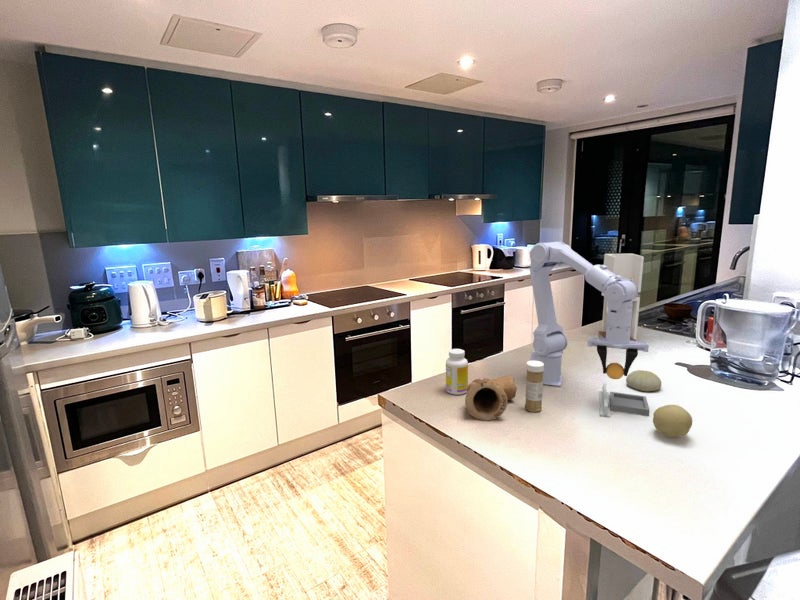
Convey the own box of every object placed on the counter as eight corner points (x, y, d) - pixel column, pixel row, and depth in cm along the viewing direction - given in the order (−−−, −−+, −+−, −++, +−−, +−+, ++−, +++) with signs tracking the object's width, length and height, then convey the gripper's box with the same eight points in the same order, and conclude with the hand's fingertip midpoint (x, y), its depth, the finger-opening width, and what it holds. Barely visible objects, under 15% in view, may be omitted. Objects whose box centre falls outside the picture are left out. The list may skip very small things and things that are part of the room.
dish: (610, 410, 115) (611, 404, 115) (609, 397, 123) (610, 391, 123) (649, 416, 112) (649, 410, 111) (645, 401, 120) (645, 396, 119)
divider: (600, 416, 112) (601, 405, 112) (599, 392, 127) (600, 382, 126) (610, 417, 111) (611, 406, 111) (608, 393, 126) (609, 384, 125)
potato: (690, 448, 97) (695, 415, 95) (650, 439, 101) (654, 408, 99) (689, 433, 103) (693, 402, 101) (652, 425, 107) (655, 395, 105)
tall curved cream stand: (598, 335, 182) (604, 253, 175) (624, 336, 180) (632, 253, 173) (607, 343, 171) (614, 256, 164) (635, 344, 169) (643, 256, 162)
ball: (605, 380, 115) (606, 364, 114) (605, 374, 119) (606, 359, 118) (624, 382, 113) (625, 366, 112) (623, 376, 117) (624, 361, 116)
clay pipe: (452, 418, 121) (477, 426, 107) (447, 380, 122) (470, 384, 108) (510, 405, 127) (540, 411, 113) (504, 369, 128) (533, 371, 113)
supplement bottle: (470, 388, 132) (470, 349, 129) (464, 397, 126) (464, 355, 123) (449, 385, 134) (449, 346, 132) (442, 393, 129) (442, 353, 126)
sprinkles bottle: (533, 403, 120) (535, 358, 117) (545, 410, 116) (547, 363, 113) (521, 407, 118) (522, 361, 116) (532, 414, 114) (534, 366, 112)
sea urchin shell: (669, 388, 124) (650, 369, 124) (647, 404, 126) (628, 385, 126) (657, 376, 133) (639, 358, 133) (636, 392, 135) (618, 374, 135)
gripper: (588, 326, 113) (585, 375, 115) (651, 331, 107) (646, 382, 109) (589, 320, 119) (586, 366, 122) (648, 324, 113) (644, 373, 116)
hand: (614, 373), depth 116 cm, fingers closed on ball, 4 cm apart
